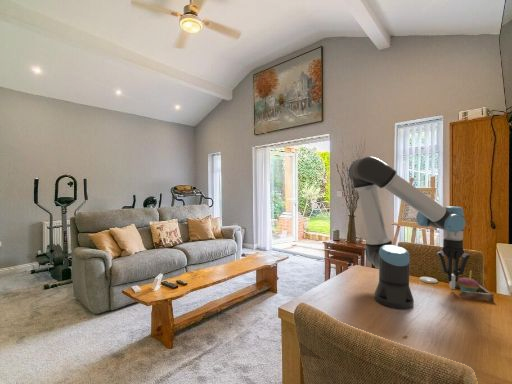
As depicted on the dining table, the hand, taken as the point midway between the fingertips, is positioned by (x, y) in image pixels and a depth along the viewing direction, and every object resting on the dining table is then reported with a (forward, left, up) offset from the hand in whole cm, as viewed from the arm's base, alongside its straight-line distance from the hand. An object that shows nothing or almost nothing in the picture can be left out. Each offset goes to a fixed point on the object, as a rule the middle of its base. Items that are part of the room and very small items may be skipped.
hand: (452, 287), depth 125 cm
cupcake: (+6, 0, -2) cm, 6 cm away
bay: (+6, 0, -2) cm, 7 cm away
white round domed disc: (-7, +13, -2) cm, 15 cm away
